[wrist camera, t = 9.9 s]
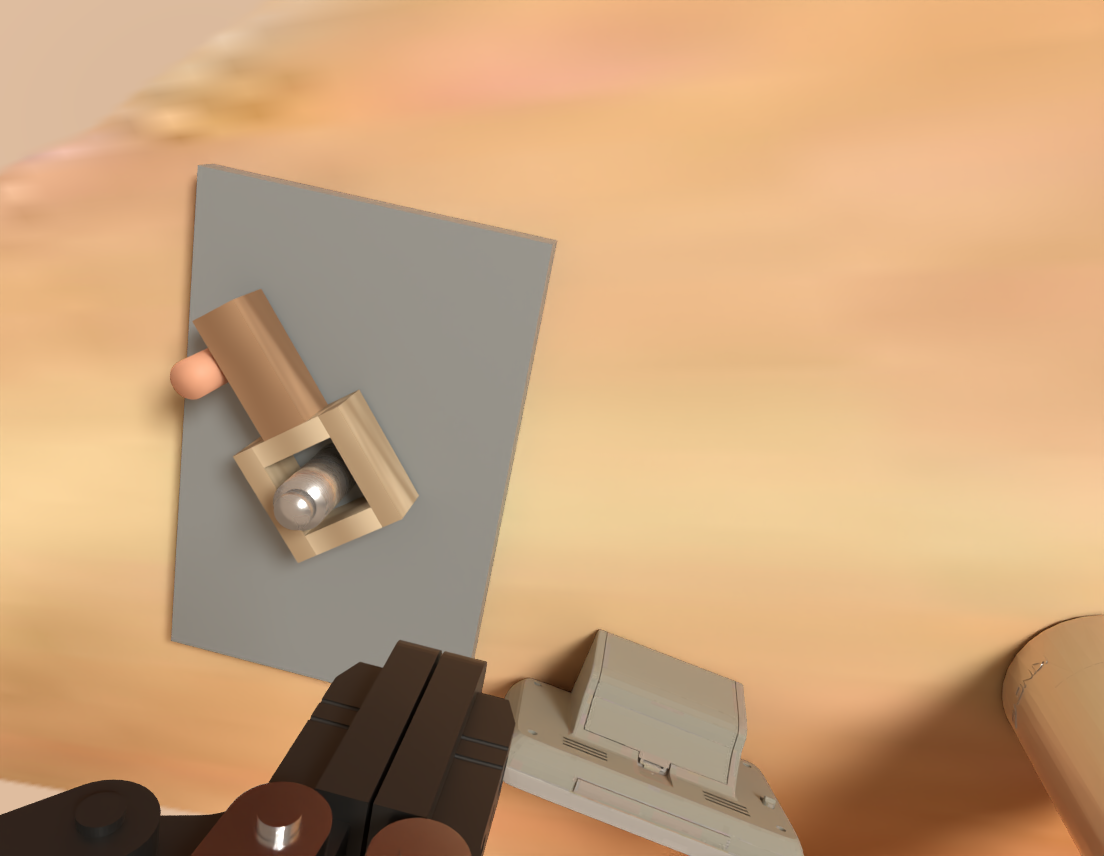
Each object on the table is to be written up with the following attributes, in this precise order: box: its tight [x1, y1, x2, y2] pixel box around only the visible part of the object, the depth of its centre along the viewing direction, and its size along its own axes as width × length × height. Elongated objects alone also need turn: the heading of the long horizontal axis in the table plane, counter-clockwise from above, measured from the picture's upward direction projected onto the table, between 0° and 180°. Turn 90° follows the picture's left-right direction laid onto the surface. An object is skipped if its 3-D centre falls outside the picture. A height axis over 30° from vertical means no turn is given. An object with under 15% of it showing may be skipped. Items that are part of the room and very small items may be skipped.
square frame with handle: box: [192, 289, 419, 563], centre depth 45 cm, size 6×13×3 cm, turn 27°
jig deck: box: [171, 164, 557, 683], centre depth 48 cm, size 18×28×2 cm, turn 169°
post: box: [273, 443, 356, 531], centre depth 45 cm, size 3×3×6 cm
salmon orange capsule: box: [170, 348, 228, 400], centre depth 45 cm, size 2×2×4 cm
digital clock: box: [503, 630, 804, 856], centre depth 47 cm, size 16×9×11 cm, turn 59°
